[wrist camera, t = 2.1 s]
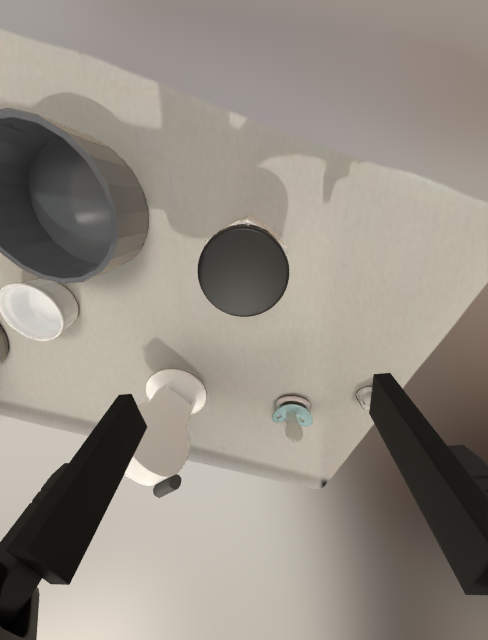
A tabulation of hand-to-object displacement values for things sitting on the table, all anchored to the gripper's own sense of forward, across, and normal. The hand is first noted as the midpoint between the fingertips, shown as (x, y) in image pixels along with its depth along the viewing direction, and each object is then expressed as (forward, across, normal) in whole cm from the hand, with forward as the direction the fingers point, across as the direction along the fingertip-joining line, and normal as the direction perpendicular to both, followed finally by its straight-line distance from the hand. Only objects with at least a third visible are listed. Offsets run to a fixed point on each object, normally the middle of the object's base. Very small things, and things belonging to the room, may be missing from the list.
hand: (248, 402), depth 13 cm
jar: (+23, 0, +4) cm, 23 cm away
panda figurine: (+23, -18, -19) cm, 34 cm away
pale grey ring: (+23, +16, -22) cm, 36 cm away
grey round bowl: (+22, -20, +12) cm, 32 cm away
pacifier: (+23, +4, -25) cm, 34 cm away
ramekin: (+22, -31, +1) cm, 39 cm away
